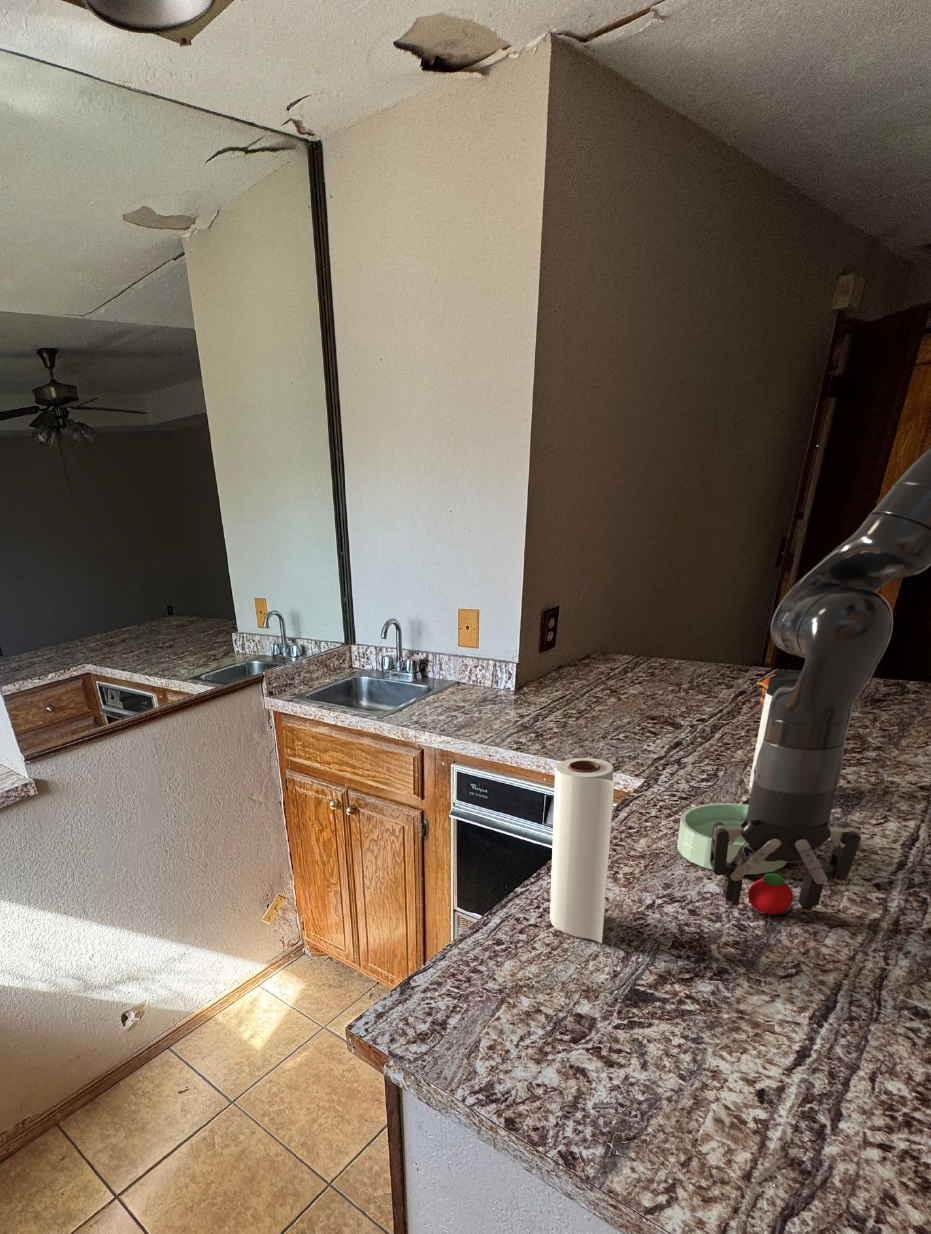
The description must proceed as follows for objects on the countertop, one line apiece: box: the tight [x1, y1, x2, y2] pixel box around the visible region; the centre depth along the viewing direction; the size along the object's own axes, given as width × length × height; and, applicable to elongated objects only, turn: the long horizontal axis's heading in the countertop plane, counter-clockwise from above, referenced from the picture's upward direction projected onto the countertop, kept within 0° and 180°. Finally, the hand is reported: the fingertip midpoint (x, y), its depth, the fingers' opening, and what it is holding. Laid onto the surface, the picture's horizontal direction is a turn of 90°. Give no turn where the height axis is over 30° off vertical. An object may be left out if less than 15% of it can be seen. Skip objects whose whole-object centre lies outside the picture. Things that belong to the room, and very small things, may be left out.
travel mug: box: [747, 669, 803, 794], centre depth 101 cm, size 6×7×20 cm
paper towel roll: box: [549, 757, 616, 944], centre depth 77 cm, size 7×6×21 cm
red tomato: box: [747, 872, 794, 915], centre depth 78 cm, size 4×4×5 cm
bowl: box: [676, 802, 788, 875], centre depth 90 cm, size 13×13×5 cm
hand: (768, 904), depth 78 cm, fingers open, 7 cm apart
